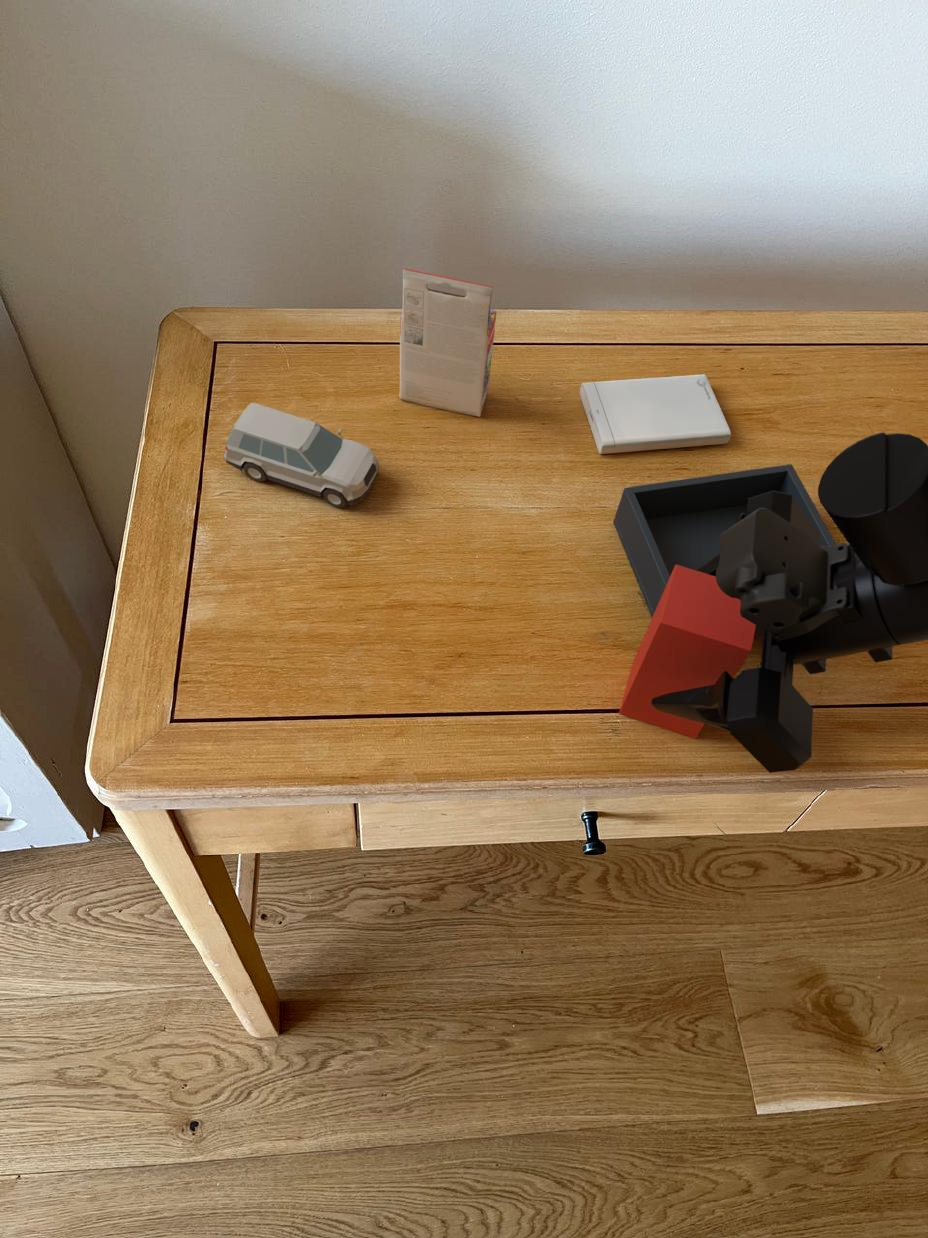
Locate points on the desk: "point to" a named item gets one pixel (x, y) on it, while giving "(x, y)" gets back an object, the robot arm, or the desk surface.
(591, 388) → the hard drive
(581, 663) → the desk surface
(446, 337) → the ink box
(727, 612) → the package
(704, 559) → the dark gray tray
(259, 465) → the toy car
